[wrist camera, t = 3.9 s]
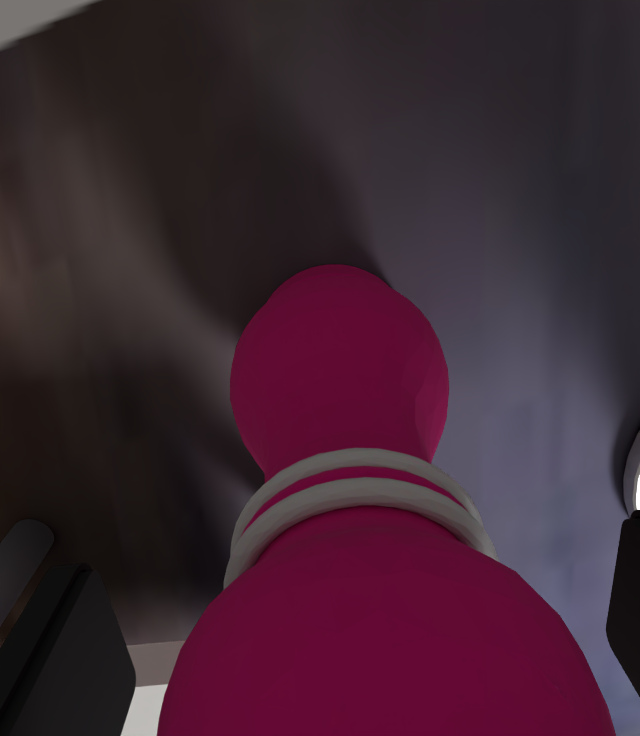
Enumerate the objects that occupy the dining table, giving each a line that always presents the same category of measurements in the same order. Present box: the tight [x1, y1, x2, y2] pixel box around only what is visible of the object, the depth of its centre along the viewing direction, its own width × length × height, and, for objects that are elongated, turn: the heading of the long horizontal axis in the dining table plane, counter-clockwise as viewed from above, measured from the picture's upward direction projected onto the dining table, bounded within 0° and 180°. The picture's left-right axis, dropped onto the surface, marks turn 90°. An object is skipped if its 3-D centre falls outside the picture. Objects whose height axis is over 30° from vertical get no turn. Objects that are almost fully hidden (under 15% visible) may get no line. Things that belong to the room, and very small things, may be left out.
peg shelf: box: [0, 519, 186, 736], centre depth 23 cm, size 16×14×10 cm
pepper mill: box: [157, 264, 616, 736], centre depth 13 cm, size 7×7×20 cm
